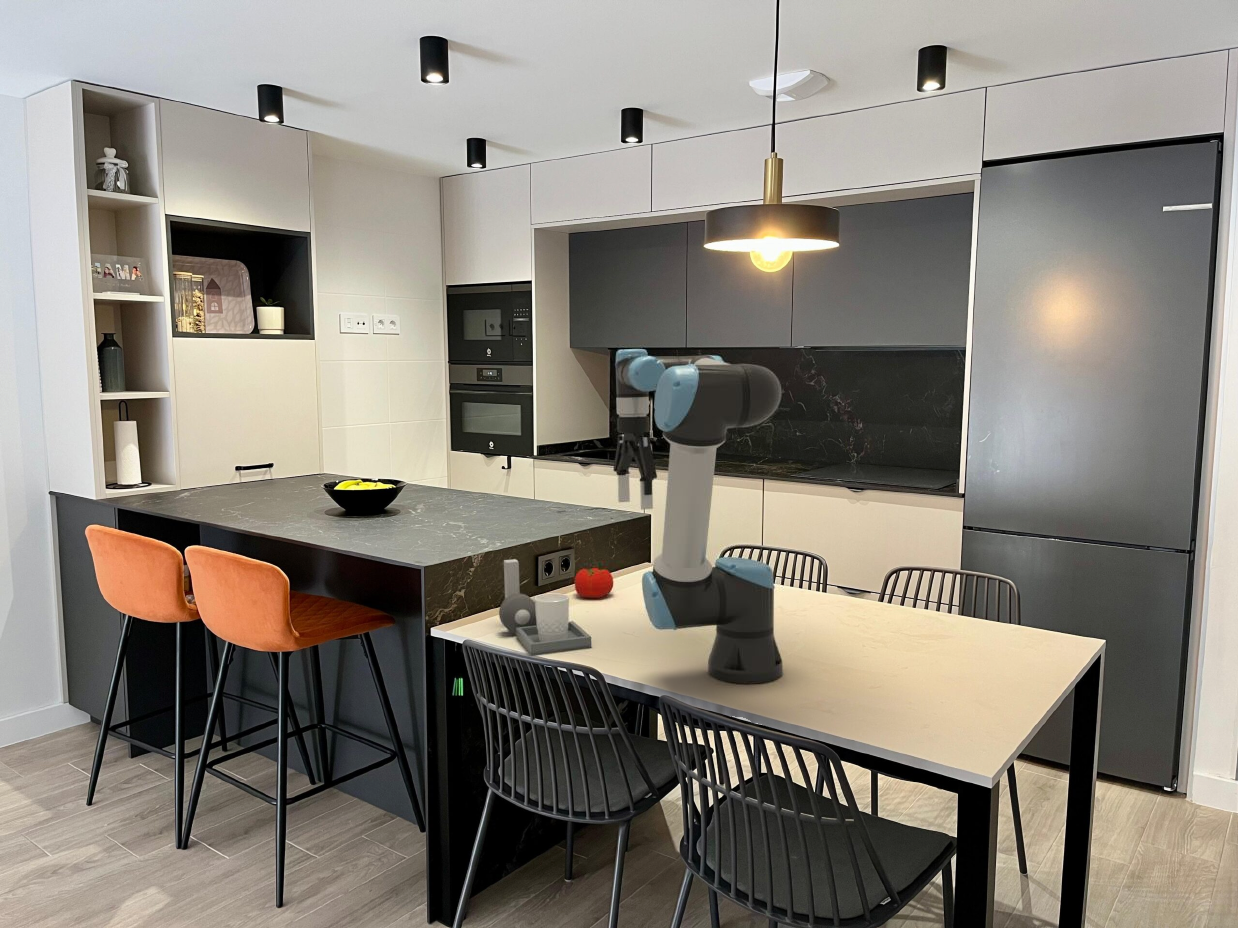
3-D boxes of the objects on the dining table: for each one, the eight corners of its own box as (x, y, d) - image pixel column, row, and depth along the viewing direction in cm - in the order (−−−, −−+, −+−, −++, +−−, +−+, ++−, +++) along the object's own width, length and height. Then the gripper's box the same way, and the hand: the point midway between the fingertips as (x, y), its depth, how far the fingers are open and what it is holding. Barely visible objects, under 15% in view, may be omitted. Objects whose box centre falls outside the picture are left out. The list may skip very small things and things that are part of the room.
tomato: (620, 594, 252) (619, 567, 251) (598, 603, 243) (598, 575, 242) (588, 589, 258) (588, 563, 257) (566, 598, 248) (565, 571, 248)
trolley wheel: (541, 633, 216) (539, 567, 214) (504, 637, 213) (502, 571, 211) (529, 620, 227) (527, 558, 225) (494, 625, 224) (491, 561, 222)
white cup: (572, 634, 212) (571, 593, 211) (567, 645, 204) (565, 601, 203) (539, 634, 213) (538, 592, 212) (532, 644, 205) (531, 601, 204)
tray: (591, 647, 204) (591, 636, 204) (531, 655, 199) (530, 644, 199) (573, 631, 217) (573, 620, 217) (516, 638, 212) (515, 627, 212)
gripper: (670, 416, 202) (672, 510, 204) (627, 413, 225) (629, 497, 227) (639, 418, 199) (641, 513, 201) (599, 414, 222) (601, 500, 224)
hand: (635, 505), depth 214 cm, fingers open, 13 cm apart
